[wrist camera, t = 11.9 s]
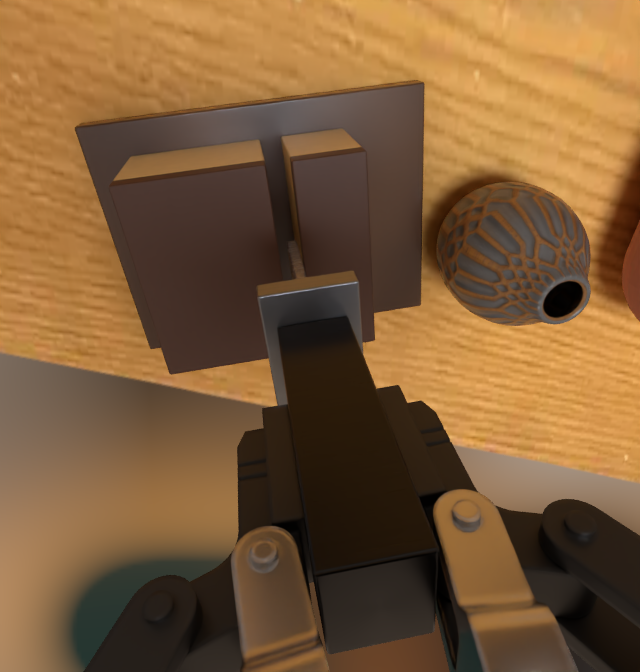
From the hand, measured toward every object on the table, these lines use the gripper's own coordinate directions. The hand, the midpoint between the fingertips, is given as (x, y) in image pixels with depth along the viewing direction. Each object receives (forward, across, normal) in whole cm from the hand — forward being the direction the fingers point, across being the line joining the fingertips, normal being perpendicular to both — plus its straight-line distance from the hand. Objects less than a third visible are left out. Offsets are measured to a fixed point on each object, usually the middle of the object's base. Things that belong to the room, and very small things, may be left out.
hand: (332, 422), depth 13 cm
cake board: (+16, 0, 0) cm, 16 cm away
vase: (+16, -11, +2) cm, 20 cm away
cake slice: (+15, -2, 0) cm, 15 cm away
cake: (+15, +4, 0) cm, 15 cm away
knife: (+9, 0, 0) cm, 9 cm away
